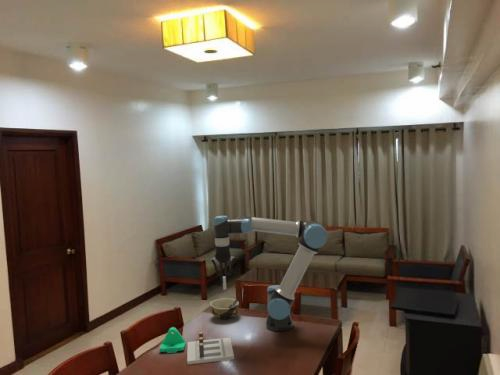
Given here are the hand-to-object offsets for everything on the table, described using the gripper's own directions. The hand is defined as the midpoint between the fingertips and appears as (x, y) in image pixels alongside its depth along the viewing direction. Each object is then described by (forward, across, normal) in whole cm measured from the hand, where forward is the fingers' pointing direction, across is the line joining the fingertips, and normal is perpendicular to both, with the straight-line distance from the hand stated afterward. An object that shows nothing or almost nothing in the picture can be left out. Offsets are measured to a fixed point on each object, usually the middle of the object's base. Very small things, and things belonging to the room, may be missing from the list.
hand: (224, 289), depth 224 cm
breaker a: (+24, +14, +8) cm, 29 cm away
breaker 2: (+24, +14, +22) cm, 36 cm away
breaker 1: (+24, +14, +15) cm, 32 cm away
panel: (+26, +10, +15) cm, 32 cm away
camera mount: (+27, +28, +8) cm, 40 cm away
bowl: (+27, -1, -30) cm, 40 cm away
